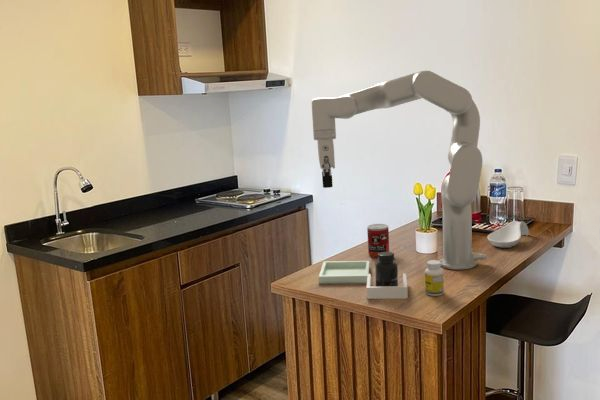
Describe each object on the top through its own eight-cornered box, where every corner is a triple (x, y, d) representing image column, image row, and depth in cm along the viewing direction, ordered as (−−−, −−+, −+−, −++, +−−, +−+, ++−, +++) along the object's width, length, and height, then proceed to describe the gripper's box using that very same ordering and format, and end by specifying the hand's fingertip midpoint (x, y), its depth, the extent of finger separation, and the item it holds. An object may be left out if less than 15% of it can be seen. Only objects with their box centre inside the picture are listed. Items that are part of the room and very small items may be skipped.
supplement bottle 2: (423, 290, 176) (422, 260, 175) (440, 289, 177) (439, 258, 175) (428, 297, 171) (427, 265, 169) (446, 295, 172) (445, 263, 170)
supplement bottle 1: (397, 295, 174) (396, 257, 172) (375, 294, 176) (373, 257, 173) (398, 287, 181) (397, 250, 179) (376, 286, 182) (375, 250, 180)
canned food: (366, 257, 213) (364, 228, 211) (371, 251, 221) (370, 223, 219) (386, 258, 211) (385, 229, 208) (391, 252, 218) (390, 223, 216)
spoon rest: (512, 252, 209) (512, 233, 207) (481, 247, 217) (481, 229, 215) (537, 237, 226) (538, 219, 224) (508, 233, 234) (508, 216, 232)
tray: (369, 267, 202) (369, 260, 201) (368, 283, 186) (367, 275, 186) (324, 268, 204) (323, 261, 204) (319, 283, 189) (318, 276, 188)
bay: (406, 283, 183) (405, 273, 183) (407, 298, 171) (407, 287, 170) (368, 284, 185) (367, 273, 184) (366, 298, 173) (366, 287, 172)
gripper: (336, 136, 185) (339, 188, 189) (334, 131, 202) (337, 180, 206) (313, 137, 186) (316, 190, 189) (313, 133, 203) (316, 181, 206)
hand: (327, 184), depth 197 cm, fingers open, 9 cm apart
